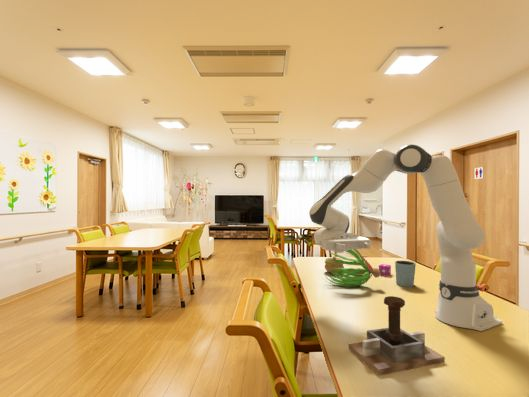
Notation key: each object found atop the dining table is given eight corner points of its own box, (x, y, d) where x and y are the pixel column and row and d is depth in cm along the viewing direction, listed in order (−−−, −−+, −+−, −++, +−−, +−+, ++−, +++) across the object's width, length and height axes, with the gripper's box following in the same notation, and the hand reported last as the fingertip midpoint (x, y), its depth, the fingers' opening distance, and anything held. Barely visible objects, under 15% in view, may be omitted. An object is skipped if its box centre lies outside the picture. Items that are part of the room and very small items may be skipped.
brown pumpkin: (322, 270, 188) (322, 255, 188) (339, 270, 189) (339, 254, 189) (328, 275, 176) (328, 258, 176) (346, 274, 177) (346, 258, 177)
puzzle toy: (381, 273, 183) (381, 263, 183) (390, 274, 180) (390, 265, 180) (378, 274, 178) (378, 265, 178) (388, 276, 175) (388, 266, 175)
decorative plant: (384, 303, 143) (322, 298, 147) (371, 279, 168) (319, 275, 171) (389, 254, 138) (325, 250, 142) (376, 236, 163) (321, 233, 166)
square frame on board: (407, 339, 96) (407, 322, 96) (444, 362, 82) (444, 342, 82) (348, 348, 89) (348, 330, 89) (378, 375, 76) (378, 354, 76)
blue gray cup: (405, 281, 164) (405, 260, 164) (420, 286, 154) (420, 263, 155) (390, 282, 161) (390, 261, 161) (404, 288, 151) (405, 265, 151)
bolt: (388, 343, 90) (388, 294, 90) (406, 348, 86) (406, 298, 86) (382, 351, 85) (382, 299, 85) (400, 357, 82) (400, 303, 82)
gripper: (315, 234, 119) (332, 239, 106) (358, 233, 125) (380, 237, 112) (315, 250, 119) (332, 256, 106) (358, 248, 125) (379, 254, 112)
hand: (357, 247), depth 109 cm, fingers open, 8 cm apart
